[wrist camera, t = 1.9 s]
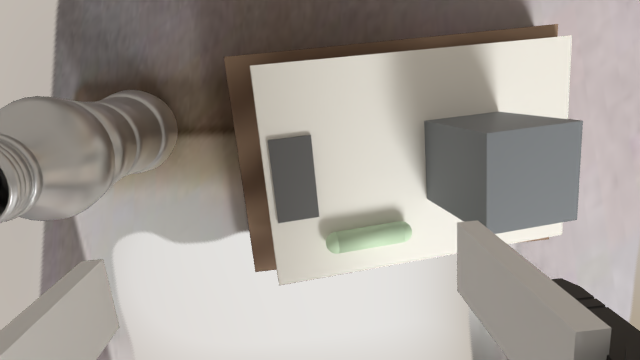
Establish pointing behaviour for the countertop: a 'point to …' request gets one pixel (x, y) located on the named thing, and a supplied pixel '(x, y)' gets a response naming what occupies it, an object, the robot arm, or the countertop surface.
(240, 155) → the walnut base
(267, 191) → the plate
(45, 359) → the robot arm
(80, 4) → the countertop surface
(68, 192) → the plastic bottle
